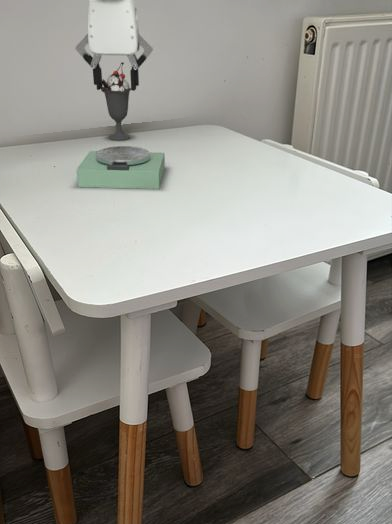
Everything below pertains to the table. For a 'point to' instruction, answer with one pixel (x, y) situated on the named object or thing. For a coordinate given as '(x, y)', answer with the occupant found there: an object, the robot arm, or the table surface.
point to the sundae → (117, 101)
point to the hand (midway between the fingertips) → (116, 88)
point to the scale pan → (122, 155)
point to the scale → (121, 173)
